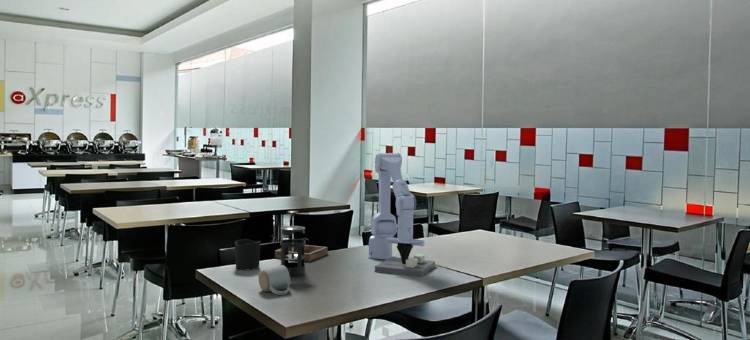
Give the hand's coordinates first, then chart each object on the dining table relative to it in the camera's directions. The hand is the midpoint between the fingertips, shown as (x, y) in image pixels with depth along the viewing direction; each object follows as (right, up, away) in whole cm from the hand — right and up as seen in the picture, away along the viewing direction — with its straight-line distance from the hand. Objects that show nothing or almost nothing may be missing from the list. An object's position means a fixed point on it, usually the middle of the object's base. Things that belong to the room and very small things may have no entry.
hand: (404, 263), depth 208 cm
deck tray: (-42, -1, +25) cm, 49 cm away
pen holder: (-59, -2, +3) cm, 60 cm away
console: (+1, -3, +4) cm, 5 cm away
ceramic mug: (-43, -4, -28) cm, 52 cm away
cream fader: (+2, -1, -1) cm, 3 cm away
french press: (-41, -3, -5) cm, 42 cm away
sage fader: (+6, 0, +6) cm, 9 cm away
